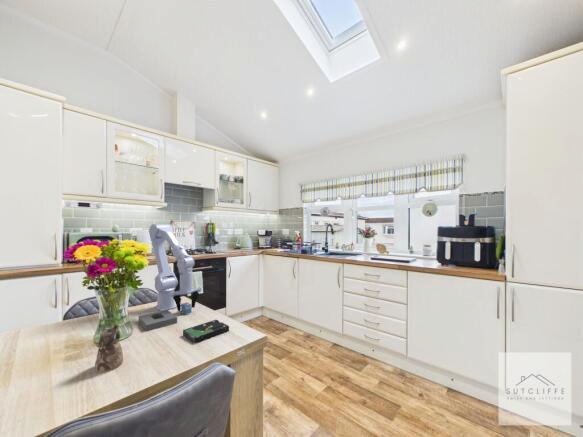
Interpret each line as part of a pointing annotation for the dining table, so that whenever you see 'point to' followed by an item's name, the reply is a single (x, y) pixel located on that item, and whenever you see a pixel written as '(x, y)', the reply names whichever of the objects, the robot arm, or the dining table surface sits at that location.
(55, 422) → the dining table surface
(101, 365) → the figurine
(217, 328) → the disk drive
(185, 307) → the servo
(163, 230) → the robot arm
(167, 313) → the chassis
